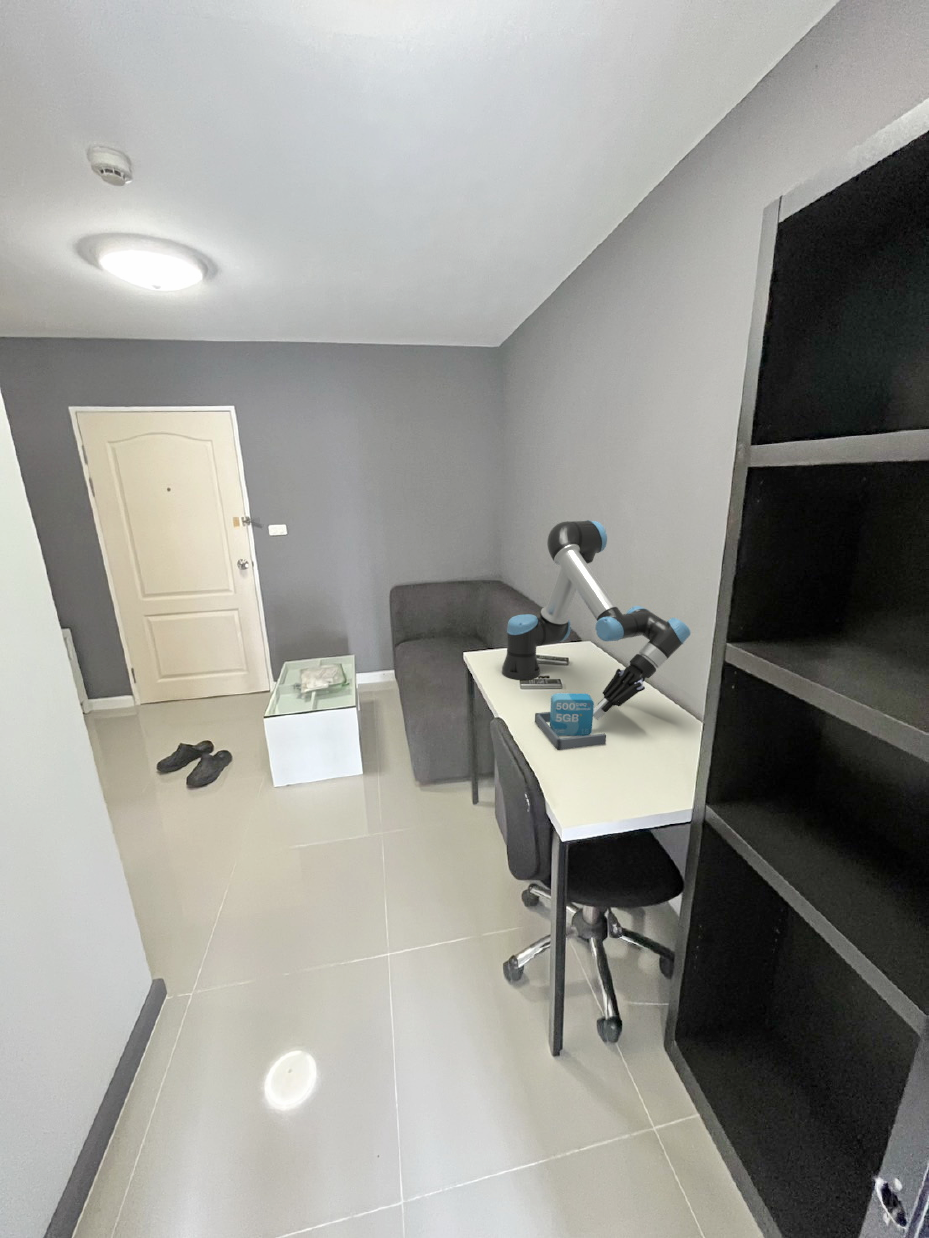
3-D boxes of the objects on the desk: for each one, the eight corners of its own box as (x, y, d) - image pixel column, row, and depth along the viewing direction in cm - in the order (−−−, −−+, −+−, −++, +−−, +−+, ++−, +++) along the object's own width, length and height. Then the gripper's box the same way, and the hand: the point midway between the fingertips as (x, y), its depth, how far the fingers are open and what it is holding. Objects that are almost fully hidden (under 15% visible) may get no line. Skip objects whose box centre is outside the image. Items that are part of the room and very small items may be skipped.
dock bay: (534, 721, 155) (535, 713, 154) (578, 717, 158) (578, 708, 157) (557, 750, 138) (558, 740, 137) (605, 744, 141) (606, 734, 140)
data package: (551, 736, 146) (553, 699, 143) (549, 728, 150) (551, 693, 147) (591, 736, 146) (594, 699, 143) (588, 729, 150) (590, 693, 147)
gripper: (667, 676, 143) (611, 733, 144) (642, 661, 155) (591, 714, 156) (653, 660, 141) (596, 719, 141) (628, 647, 153) (576, 701, 153)
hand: (593, 716), depth 149 cm, fingers closed
